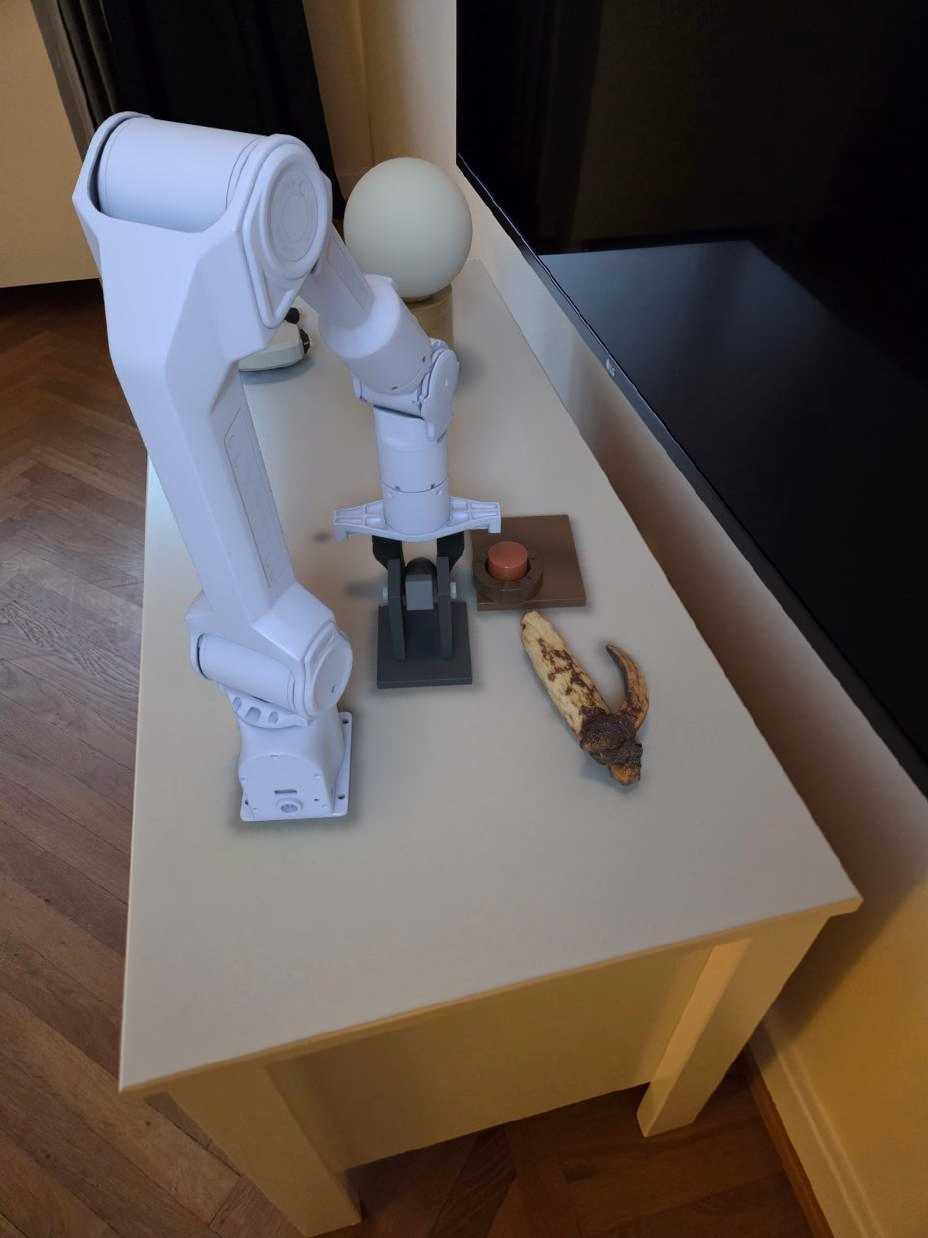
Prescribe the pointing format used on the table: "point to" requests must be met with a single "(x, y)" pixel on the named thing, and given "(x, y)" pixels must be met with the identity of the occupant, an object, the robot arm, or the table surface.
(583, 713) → the lashed bone hook
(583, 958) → the table surface
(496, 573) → the warm button
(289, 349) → the robot toy
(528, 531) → the control block
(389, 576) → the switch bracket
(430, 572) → the switch lever
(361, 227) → the lamp
